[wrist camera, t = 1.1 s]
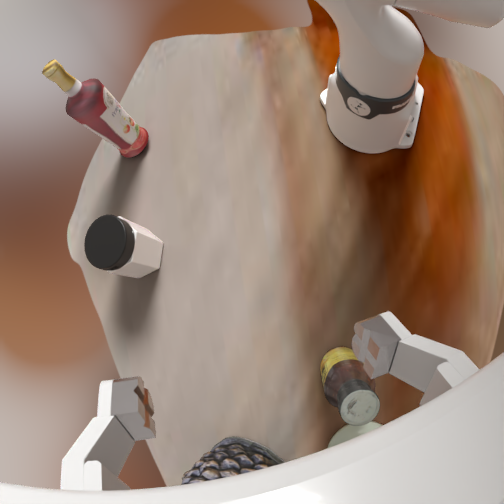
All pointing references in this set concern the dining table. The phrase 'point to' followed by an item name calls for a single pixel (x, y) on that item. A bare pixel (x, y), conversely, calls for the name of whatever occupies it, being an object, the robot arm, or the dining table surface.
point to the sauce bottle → (349, 386)
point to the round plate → (351, 432)
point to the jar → (122, 247)
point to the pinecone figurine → (231, 460)
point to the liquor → (98, 111)
